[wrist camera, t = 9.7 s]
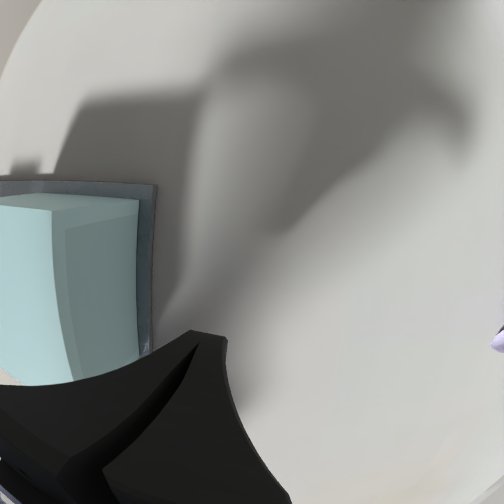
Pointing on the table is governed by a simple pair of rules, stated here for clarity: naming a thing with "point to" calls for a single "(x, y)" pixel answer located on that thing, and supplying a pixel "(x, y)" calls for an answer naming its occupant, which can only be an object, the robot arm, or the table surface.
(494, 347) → the water lily
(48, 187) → the base plate
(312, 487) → the table surface
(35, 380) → the cover
